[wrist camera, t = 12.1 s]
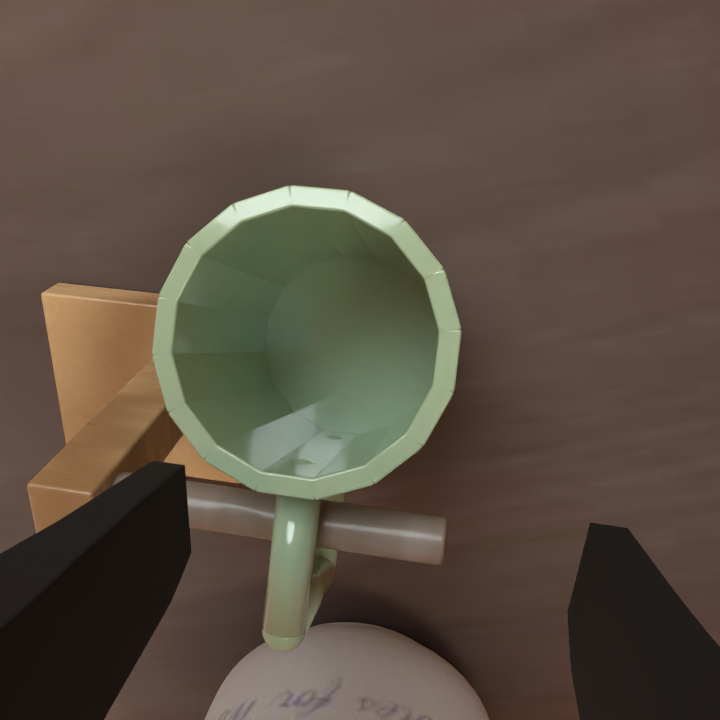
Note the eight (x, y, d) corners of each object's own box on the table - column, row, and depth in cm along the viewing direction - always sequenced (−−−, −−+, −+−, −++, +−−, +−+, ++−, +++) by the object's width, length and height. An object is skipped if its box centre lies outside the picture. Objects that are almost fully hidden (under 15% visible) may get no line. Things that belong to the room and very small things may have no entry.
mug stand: (463, 325, 20) (453, 493, 13) (442, 494, 22) (424, 711, 15) (57, 281, 21) (-155, 410, 14) (82, 444, 24) (-86, 621, 17)
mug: (267, 235, 20) (170, 173, 13) (466, 255, 19) (477, 200, 12) (233, 548, 20) (118, 657, 13) (426, 579, 19) (416, 710, 12)
